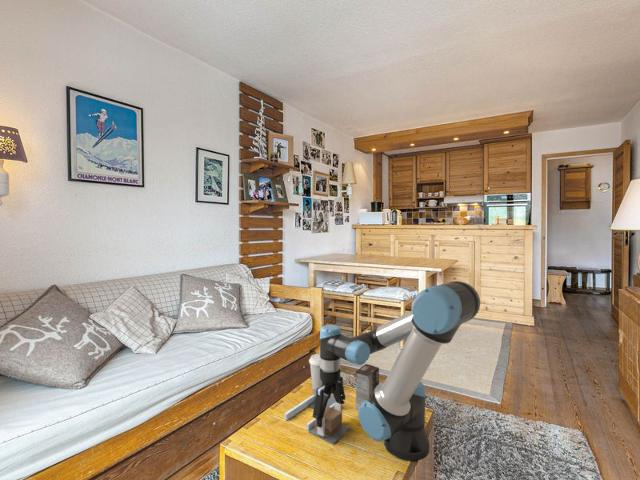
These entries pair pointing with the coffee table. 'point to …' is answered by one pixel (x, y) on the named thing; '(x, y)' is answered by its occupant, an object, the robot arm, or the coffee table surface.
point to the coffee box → (366, 383)
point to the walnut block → (331, 421)
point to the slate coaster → (335, 436)
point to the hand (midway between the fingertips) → (329, 427)
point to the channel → (310, 403)
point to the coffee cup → (315, 371)
